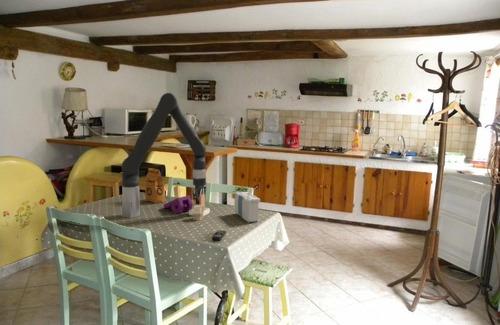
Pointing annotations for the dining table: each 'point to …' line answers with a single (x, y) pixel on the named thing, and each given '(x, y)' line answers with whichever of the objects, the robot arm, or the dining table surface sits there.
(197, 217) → the birch block
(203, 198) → the terracotta block
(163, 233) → the dining table surface
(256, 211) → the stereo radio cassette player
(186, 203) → the mounting bracket
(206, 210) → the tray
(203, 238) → the dining table surface
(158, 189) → the coffee package
